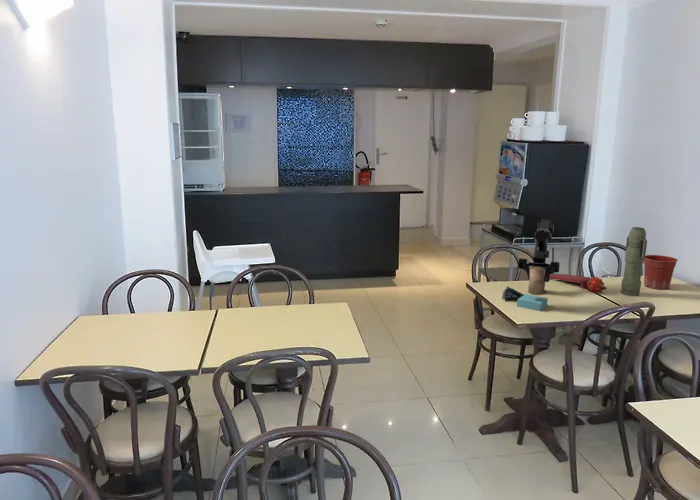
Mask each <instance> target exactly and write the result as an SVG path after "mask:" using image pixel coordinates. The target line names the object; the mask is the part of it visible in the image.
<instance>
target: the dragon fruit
mask: <svg viewBox="0 0 700 500" xmlns="http://www.w3.org/2000/svg"><path fill="white" fill-rule="evenodd" d="M586 285H588V288H587V290H588V291H590V292H592V293H594V294H598V293H602V292H603V291H605V290H607V289H608V288H607V286H606V284H605V282H603V279H602V278H599V276H592V277H590V279H589V281H588V282H587V284H586Z"/></svg>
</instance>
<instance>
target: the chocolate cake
mask: <svg viewBox="0 0 700 500" xmlns="http://www.w3.org/2000/svg"><path fill="white" fill-rule="evenodd" d="M523 295H525V294H524V293H522V292H521V291H518V290H516V289H514V288H512V287H510V286H506V288H504V289H503V291H502V295H501V298H502V299H504V301H505V302H517V300H518V299H519V298H520V297H522V296H523Z"/></svg>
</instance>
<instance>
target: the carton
mask: <svg viewBox="0 0 700 500" xmlns="http://www.w3.org/2000/svg"><path fill="white" fill-rule="evenodd" d="M590 278H591V277H589V276H583V275H581V276H580V275H572V274H565V273H560V274H559V273H558V274H550V279H549V280H557V281H564V282H573V283H577V284H579V285H580V286H579V287H580V288H579V289H582V290H584V289H588V285H586V284H587V282H588V281H589V279H590Z"/></svg>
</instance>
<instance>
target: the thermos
mask: <svg viewBox="0 0 700 500" xmlns="http://www.w3.org/2000/svg"><path fill="white" fill-rule="evenodd" d="M646 232H647V231H646V229H645V228H643V227H638V226H633V227H632V228H631V229H630V231H629V233H628V236H627V237H626V242H625V243H626V244H625V252H624V253H625V255H624V256H625V257H624V261H625V262H624V263H625V264H624V270H623V271H624V272H623V278H622V279H621V287H620V289H621V290H620V294H622V295H624V296H629V297H638V296H640V291H641V289H642V288H641V286H642V280H641V277H642V269H643V264H644V258H645V255H647V254H646V253H647V247H648V246H647V244H648V240H647V238H646V237H647V233H646Z"/></svg>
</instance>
